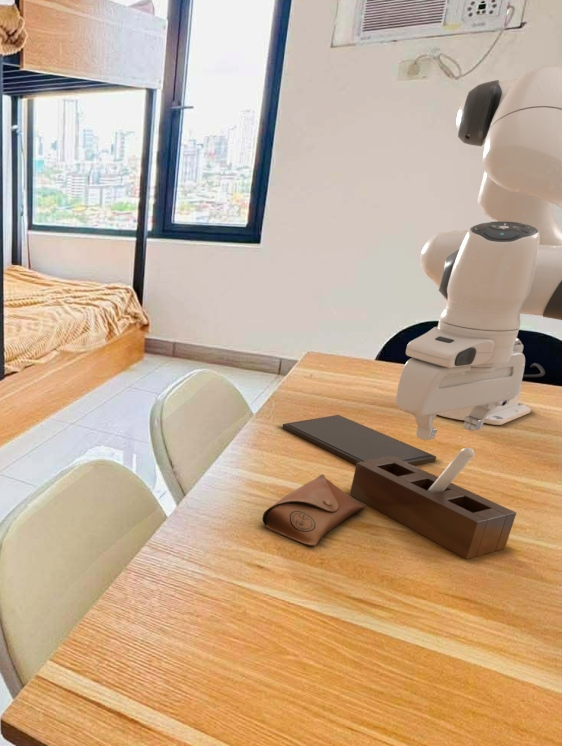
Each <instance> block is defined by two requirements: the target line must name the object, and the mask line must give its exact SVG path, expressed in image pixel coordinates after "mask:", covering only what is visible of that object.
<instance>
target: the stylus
mask: <svg viewBox="0 0 562 746" xmlns="http://www.w3.org/2000/svg"><path fill="white" fill-rule="evenodd" d="M475 453H476V452H475V450H474V449H473V448H471V447H464V448H462V449H461V450H460V451H459V452H458V454H457V455H456V456H455V457H454V458H453V460H451V462H450V463H449V464H448V465H447V467H446V468H445V469H444V470H443V471H442V473H441V474H440V475H439V476H437V477H438V479H437V480H436V481H435V482H434V483H433V485H432V486H431V487H430V488H429V489H428V490H427V491H429V492H431V493H433V494H435V493H439V492H443V491H444V490H445V489H446V488H447V487H448V485H449V484H450V483H453V481H455V479H456V478H457V476H458V475H459V474H460V473H461V472H462V471H463V469H464V468H466V466H467V465H468V464H469V463H470V461H471V460H472V459H473V458H474V457H475V455H476V454H475Z"/></svg>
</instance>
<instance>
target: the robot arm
mask: <svg viewBox="0 0 562 746" xmlns="http://www.w3.org/2000/svg"><path fill="white" fill-rule="evenodd" d="M455 126H456V131H457V137H458V139H459V140H460V141H461V142H462V143H463V144H466V145H470V146H475V147H483V150H482V160H481V161H482V167H483V170H484V171H483V175H482V178H481V183H480V187H479V189H478V195H477V201H476V202H477V206H478V208H479V210H480V211H481V212H482V214H484V215H485V216H487V217H488V218H490V219H492V220H494V221H490V222H481V223H478V224H475V225H473V226H471V227H470V228H468V229H457V230H448V231H441V232H437V233H436V234H434V235H432V236H431V237H430V238H428V240H427V241H426V242H425V244H424V245H423V247H422V248H421V249H422V250H421V251H420V255H419V265H420V269H421V270H422V272H423V274H424V275H425V277H427V278H428V279H430V280H431V281H432V282H433V283H434V284H435V285H436V286H437V288H438V292H439V293H440V294H441V295H442V296H443V298H444V301H445V307H444V309H443V311H442V312H441V314H440V316H439V320H438V324H437V326H434V327H433V328H431V329H430V330H428V331H427V332H425V333H423V334H422V335H419V336H418V337H416V338H414V339H413V340H410V341H409V342H408V344H407V345H406V349H405V355H406V356H407V357H411V358H409V359H408V360H407V361H406V362H405V364H404V365H403V367H402V370H401V374H400V377H399V380H398V385H397V390H396V396H395V404H396V406H397V408H398V409H399V410H400V411H403V412H404V413H407V414H409V415H413V416H414V418H415V422H416V425H417V429H416V434H415V436H416V437H417V438H418V439H420V440H422V441H430V440H434V439H435V438H436V434H437V432H438V428H436V427H434V422H433V420H436V418H437V416H440V417H444V418H449V419H452V420H457V421H464V422H463V424H462V426H463V428H464V429H465V430H469V431H471V432H473V431H474V432H475V431H479V430H482V429H483V426H484V424H488V425H494V426H502V425H504V424H506V423H509V422H511V421H514V420H516V419H519V418H521V417H523V416H525V415H528V414H530V413H531V410H532V409H531V407H529V406H528V405H526V404H524V403H522V402H520V398H521V394H522V382H523V379H537V378H542V377H544V376H545V374H546V371H545V369H544V367H543V366H542V365H541V364H539V363H536V362H534V363H532V364H531V365H530V368H532V369H534V368H537V369H538V370H539V371H540V373H538V374H537V373H536V374H524V373H525V366H526V357H525V354H524V353H523V351H524V344H523V343H522V341H521V340H520V338H518V334H519V331H520V328H521V314H523V315H532V316H533V315H534V316H540V317H543V318H548V319H552V320H553V319H554V320H559V321H562V228H561V226H560V225H559V224H558V222H557V221H556V218H555V216H554V211H553V205H555V206H557V207H559V208H561V209H562V65H544V66H540V67H537V68H534V69H531V70H529V71H527V72H525V73H524V74H522V75H521V76H519V77H518V78H514V79H508V80H503V81H500V80H499V79H495V80H491V81H487V82H486V81H485V82H483V83H480V84H477V85H476V86H475V87H473V88H472V89H470V90H469V91H468V93H467V95H466V96H465V98H464V99H463V101H462V102H461V104H460V106H459V108H458V110H457V114H456V117H455Z"/></svg>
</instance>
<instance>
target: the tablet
mask: <svg viewBox="0 0 562 746" xmlns="http://www.w3.org/2000/svg"><path fill="white" fill-rule="evenodd" d="M281 428H282V429H284V430H285V431H287V432H289V433H290V434H293V435H295V436H297V437H300V438H301V439H303V440H305V441H307V442H309V443H311V444H313V445H315V446H317V447H320V448H321V449H324V450H325V451H327V452H329V453H331V454H333V455H335V456H337V457H340V458H342V459H344V460H346V461H347V462H350V463H352V464H353V465H355V466H356V464H357V463H359V462H364V461H369V460H374V459H379V458H384V457H390V456H393V457H395V458H398V459H400V460H402V461H404V462H406V463H409V464H411V465H413V466H419V465H423V464H428V463H433V462H434V463H435V462H436V460H437V456H436V455H434V454H432V453H429V452H427V451H424V450H422V449H420V448H417V447H415V446H413V445H410V444H408V443H406V442H404V441H401V440H399V439H396V438H395V437H392V436H389V435H387V434H385V433H382V432H380V431H378V430H375V429H374V428H371V427H368V426H366V425H363V424H361V423H358V422H357V421H355V420H352V419H350V418H346V417H344V416H342V415H340V414H334V415H328V416H322V417H316V418H311V419H305V420H298V421H292V422H287V423H282V426H281Z"/></svg>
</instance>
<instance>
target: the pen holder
mask: <svg viewBox="0 0 562 746" xmlns="http://www.w3.org/2000/svg"><path fill="white" fill-rule="evenodd" d="M438 477H439V476H438V475H435V474H433V473H431V472H429V471H427V470H424V469H422V468H419V467H417V466H416V465H414V466H413V465H411V464H409V463H406V462H404V461H402V460H400V459H398V458H395V457H393V456H390V457H384V458H379V459H374V460H369V461H364V462H359V463H357V464H356V465H355V468H354V473H353V479H352V481H351V482H352V483H351V486H350V492H349V496H350V497H353V498H354V499H356V500H358V501H360V502H361V503H364V504H366V505H368V506H369V507H371V508H373V509H375V510H376V511H378V512H380V513H382V514H384V515H385V516H387V517H389V518H391V519H393V520H394V521H397V522H399V523H400V524H402V525H404V526H405V527H407V528H409V529H411V530H412V531H414V532H416V533H418V534H420V535H422V536H423V537H425V538H427V539H429V540H431V541H432V542H434V543H436V544H438V545H439V546H442V547H443V548H445V549H446V550H449V551H450V552H452V553H454V554H456V555H457V556H460V557H462V558H463V559H465V560H468V559H472V558H475V557H479V556H482V555H483V556H484V555H486V554H489V553H494V552H497V551H501V550H504V549H506V547H507V544H508V540H509V537H510V534H511V531H512V528H513V525H514V522H515V519H516V516H517V511H514V510H512V509H510V508H508V507H505V506H503V505H501V504H499V503H496V502H495V501H492V500H491V499H488V498H485V497H483V496H481V495H479V494H478V493H474V492H472V491H471V490H469V489H466V488H463V487H462V486H459V485H457V484H455V483H453V482H451V483H450V484H449V485H448V487H447V488H446V489H445V490H444V491H443V492H439V493H435V494H433V493H431V492H429V491H427V490H428V489H429V488H430V487H431V486H432V485H433V483H434V482H435V481H436V480H437V479H438Z"/></svg>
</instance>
